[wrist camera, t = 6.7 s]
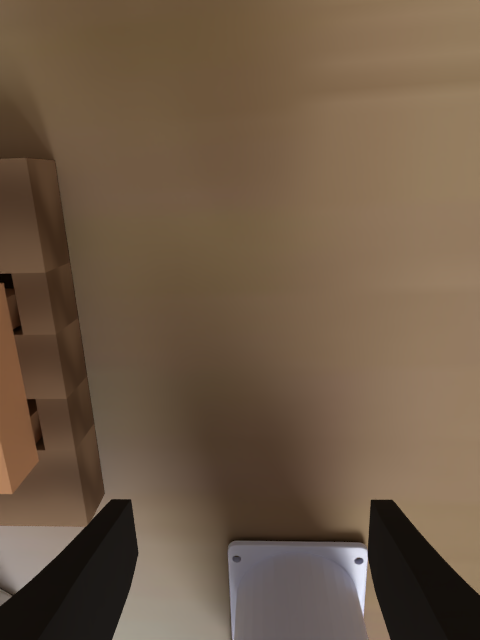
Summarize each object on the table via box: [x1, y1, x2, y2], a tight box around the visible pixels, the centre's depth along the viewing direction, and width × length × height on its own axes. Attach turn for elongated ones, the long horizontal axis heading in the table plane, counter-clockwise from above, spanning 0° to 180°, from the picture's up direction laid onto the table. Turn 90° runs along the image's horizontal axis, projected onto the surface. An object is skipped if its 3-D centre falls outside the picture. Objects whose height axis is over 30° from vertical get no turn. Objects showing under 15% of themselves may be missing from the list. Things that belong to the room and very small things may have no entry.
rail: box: [0, 158, 105, 527], centre depth 21 cm, size 18×6×2 cm, turn 2°
